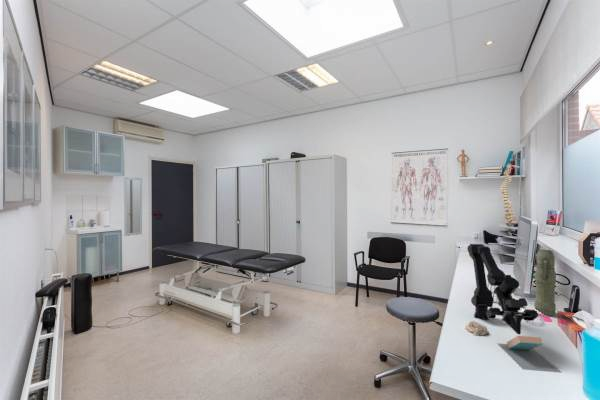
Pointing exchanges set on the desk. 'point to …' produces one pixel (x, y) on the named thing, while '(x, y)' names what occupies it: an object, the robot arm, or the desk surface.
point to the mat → (529, 359)
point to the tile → (524, 343)
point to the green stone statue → (545, 283)
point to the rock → (476, 328)
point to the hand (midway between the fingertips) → (519, 334)
